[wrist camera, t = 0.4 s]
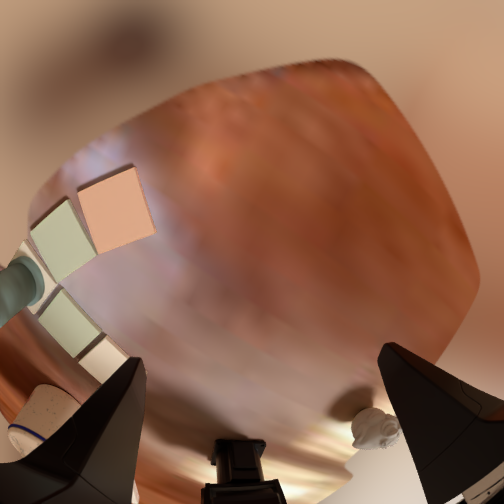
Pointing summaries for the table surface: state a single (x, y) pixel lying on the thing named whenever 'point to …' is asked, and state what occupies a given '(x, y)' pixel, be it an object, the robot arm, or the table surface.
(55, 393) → the teacup with lid
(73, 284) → the table surface
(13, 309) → the pawn
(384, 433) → the frog figurine
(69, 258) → the track
